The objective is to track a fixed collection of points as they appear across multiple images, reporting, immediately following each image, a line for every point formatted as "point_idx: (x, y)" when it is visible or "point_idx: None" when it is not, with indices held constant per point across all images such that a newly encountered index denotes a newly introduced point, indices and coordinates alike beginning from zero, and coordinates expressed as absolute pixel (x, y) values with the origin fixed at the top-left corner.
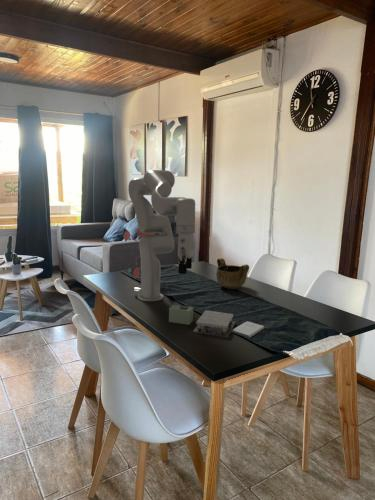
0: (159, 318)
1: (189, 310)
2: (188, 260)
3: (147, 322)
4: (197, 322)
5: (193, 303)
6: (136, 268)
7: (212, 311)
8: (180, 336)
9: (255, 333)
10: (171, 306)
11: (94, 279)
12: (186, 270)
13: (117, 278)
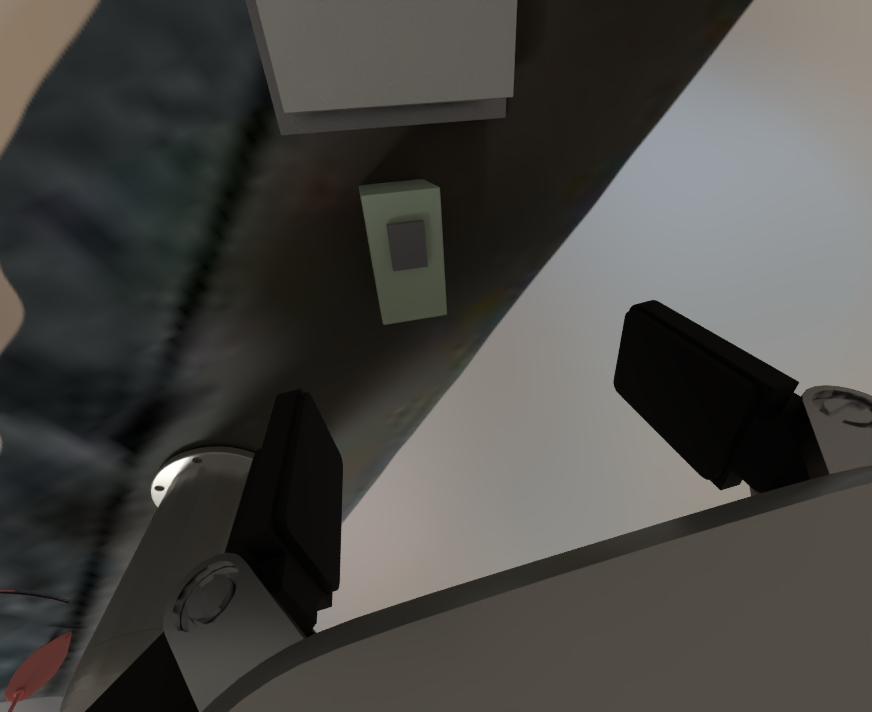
0: (416, 338)
1: (426, 195)
2: (307, 536)
3: (473, 353)
4: (512, 87)
5: (102, 300)
6: (18, 698)
7: (272, 41)
8: (563, 160)
9: None
10: (414, 318)
11: None
12: (675, 319)
13: None
